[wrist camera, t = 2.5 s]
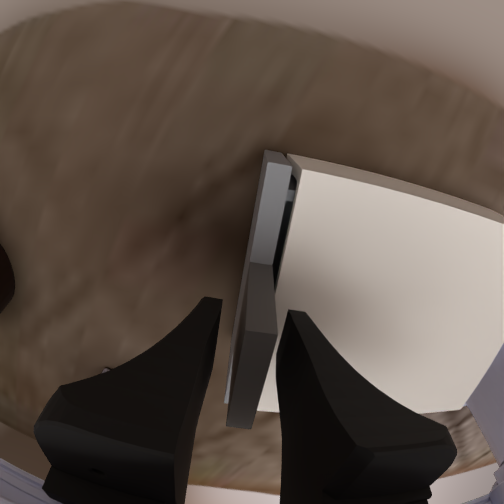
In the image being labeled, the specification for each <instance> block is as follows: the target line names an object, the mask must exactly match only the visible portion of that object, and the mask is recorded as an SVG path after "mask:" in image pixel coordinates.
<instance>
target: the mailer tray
mask: <svg viewBox="0 0 504 504" xmlns="http://www.w3.org/2000/svg"><path fill="white" fill-rule="evenodd" d="M291 171H292V165H291V164H290V163H289V161H288V160H287V159H286V158H285V156H284V155H283V154H282V153H280V152H275V151H269V150H265V151H264V156H263V162H262V168H261V173H260V179H259V184H258V190H257V196H256V201H255V207H254V213H253V218H252V224H251V230H250V235H249V241H248V247H247V252H246V258H245V264H244V270H243V275H242V281H241V287H240V293H239V298H238V304H237V310H236V316H235V322H234V327H233V333H232V339H231V347H230V355H229V364H228V373H227V382H226V390H225V399H224V403H228V412H227V422H226V426H228V427H236V428H244V429H251V428H252V424H253V421H254V418H255V414H256V411H257V408H258V404H259V401H260V397H261V394H262V391H263V387H264V384H265V380H266V377H267V373H268V370H269V366H270V362H271V359H272V355H273V352H274V348H275V344H276V341H277V337H278V327H277V315H276V303H275V291H274V288H275V284H276V279H277V275H278V270H279V266H280V261H281V257H282V252H283V248H284V243H285V239H286V234H287V229H288V225H289V220H290V215H291V211H292V206H293V201H294V196H295V191H296V187H297V180H296V178H295V177H294V175H291Z"/></svg>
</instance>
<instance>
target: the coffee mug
mask: <svg viewBox="0 0 504 504" xmlns="http://www.w3.org/2000/svg"><path fill="white" fill-rule="evenodd" d="M14 289H15V280H14V274H13V270H12V267H11V264H10V261H9V259H8V256H7V255H6V253H5V251H4V249H3V247H2V246H1V244H0V313H1V312H2V311H3V309H4V308H5V307H6V305H7V304H8V303H9V302H10V300H11V299H12V297H13V295H14Z"/></svg>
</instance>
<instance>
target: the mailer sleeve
mask: <svg viewBox="0 0 504 504" xmlns="http://www.w3.org/2000/svg"><path fill="white" fill-rule="evenodd" d="M286 159H287V160H288V161H289V163H290V164H291V165H292V171H291V175H294V177H295V178H296V180H297V187H296V191H295V196H294V201H293V206H292V211H291V215H290V220H289V225H288V229H287V234H286V239H285V243H284V248H283V252H282V257H281V261H280V266H279V270H278V275H277V279H276V284H275V288H274V291H275V303H276V315H277V327H278V337H277V341H276V344H275V348H274V352H273V355H272V359H271V362H270V366H269V370H268V373H267V377H266V380H265V384H264V387H263V391H262V394H261V397H260V401H259V404H258V408H257V410H259V411H269V412H279V404H278V396H277V387H276V352H277V349H278V345H279V342H280V338H281V334H282V331H283V327H284V323H285V320H286V316H287V312H288V309H289V310H297V311H304V312H306V313H307V314H308V316H309V317H310V318H311V319H312V321H313V322H314V323H315V325H316V326H317V327H318V328H319V330H320V331H321V332H322V334H323V335H324V336H325V337H326V339H327V340H328V341H329V342H330V343H331V345H332V346H333V347H334V348H335V349H336V350H337V351H338V353H339V354H340V355H341V356H342V357H343V358H344V359H345V360H346V361H347V362H348V363H349V364H350V365H351V366H352V367H353V368H354V369H355V370H356V371H357V372H358V373H360V374H361V375H362V376H363V377H364V378H365V379H366V380H368V381H369V382H370V383H371V384H373V385H374V386H375V387H376V388H378V389H379V390H381V391H382V392H383V393H385V394H386V395H388V396H389V397H390V398H392V399H393V400H395V401H397V402H398V403H400V404H401V405H403V406H405V407H407V408H409V409H410V410H412V411H414V412H416V413H418V414H419V413H432V412H442V411H451V410H460V409H461V408H462V407H463V405H464V404H465V402H466V401H467V400H468V398H469V397H470V395H471V394H472V393H473V391H474V390H475V388H476V387H477V385H478V384H479V382H480V381H481V379H482V378H483V376H484V375H485V373H486V372H487V370H488V368H489V367H490V365H491V364H492V362H493V360H494V359H495V357H496V355H497V354H498V352H499V350H500V348H501V347H502V345H503V343H504V216H503V215H501V214H499V213H497V212H495V211H493V210H491V209H489V208H486V207H483V206H481V205H478V204H475V203H472V202H469V201H466V200H464V199H461V198H458V197H455V196H452V195H449V194H445V193H442V192H439V191H436V190H433V189H430V188H426V187H423V186H420V185H416V184H413V183H409V182H406V181H403V180H399V179H395V178H392V177H388V176H384V175H381V174H377V173H373V172H369V171H365V170H361V169H357V168H353V167H349V166H345V165H340V164H336V163H332V162H327V161H322V160H318V159H313V158H308V157H303V156H298V155H293V154H288V153H287V158H286Z"/></svg>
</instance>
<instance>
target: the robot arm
mask: <svg viewBox="0 0 504 504" xmlns="http://www.w3.org/2000/svg"><path fill="white" fill-rule="evenodd" d="M222 301H223V299H217V298H211V297H204V298H202V299H201V301H200V302H199V303H198V305H197V306H196V307H195V308H194V309H193V310H192V312H191V313H190V314H189V315H188V316H187V317H186V318H185V319H184V320H183V321H182V322H181V323H180V324H179V325H178V326H177V327H176V328H175V329H173V330H172V331H171V332H170V333H169V334H168V335H166V336H165V337H164V338H163V339H162V340H160V341H159V342H158V343H156V344H155V345H154V346H152V347H151V348H149V349H148V350H146V351H145V352H143V353H142V354H140V355H138V356H137V357H135V358H133V359H132V360H130V361H128V362H126V363H124V364H122V365H120V366H118V367H116V368H114V369H111V370H109V371H107V372H104V373H101V374H99V375H96V376H93V377H90V378H87V379H84V380H80V381H77V382H73V383H69V384H66V385H61V386H60V387H59V388H58V390H57V391H56V392H55V393H54V394H53V396H52V397H51V398H50V400H49V401H48V403H47V404H46V406H45V408H44V409H43V411H42V413H41V414H40V416H39V418H38V420H37V421H36V423H35V425H34V434H35V437H36V439H37V442H38V444H39V445H40V447H41V449H42V451H43V452H44V454H45V456H46V457H47V459H48V460H49V462H50V463H51V465H52V466H51V468H50V471H49V473H48V475H47V477H46V480H45V481H44V480H42V479H40V478H37V477H36V476H33V475H31V474H29V473H27V472H25V471H23V470H22V469H19V468H18V467H16V466H14V465H12V464H10V463H8V462H6V461H5V460H3V459H1V458H0V504H184V503H185V496H186V489H187V483H188V476H189V469H190V463H191V457H192V450H193V444H194V438H195V432H196V427H197V422H198V418H199V415H200V411H201V407H202V404H203V400H204V397H205V393H206V390H207V386H208V383H209V379H210V376H211V372H212V368H213V362H214V356H215V350H216V344H217V337H218V329H219V322H220V315H221V308H222ZM276 387H277V396H278V404H279V413H280V421H281V431H282V469H281V492H280V504H428V501H427V499H429V498H431V496H432V493H431V490H430V487H429V486H430V485H431V484H432V483H433V482H434V481H436V480H437V479H438V478H439V477H440V476H441V475H442V474H443V473H444V472H445V471H446V470H447V469H448V468H449V467H450V466H451V465H452V463H453V461H454V459H455V457H456V455H457V449H456V446H455V444H454V442H453V440H452V438H451V435H450V433H449V431H448V429H447V427H446V426H444V425H442V424H440V423H437V422H435V421H433V420H431V419H428V418H426V417H424V416H422V415H420V414H418V413H416V412H414V411H412V410H410V409H409V408H407V407H405V406H403V405H401V404H400V403H398V402H397V401H395V400H393V399H392V398H390V397H389V396H388V395H386V394H385V393H383V392H382V391H381V390H379V389H378V388H376V387H375V386H374V385H373V384H371V383H370V382H369V381H368V380H366V379H365V378H364V377H363V376H362V375H361V374H360V373H358V372H357V371H356V370H355V369H354V368H353V367H352V366H351V365H350V364H349V363H348V362H347V361H346V360H345V359H344V358H343V357H342V356H341V355H340V354H339V353H338V351H337V350H336V349H335V348H334V347H333V346H332V345H331V343H330V342H329V341H328V340H327V339H326V337H325V336H324V335H323V334H322V332H321V331H320V330H319V328H318V327H317V326H316V325H315V323H314V322H313V321H312V319H311V318H310V317H309V316H308V314H307V313H306V312H304V311H297V310H289V309H288V312H287V316H286V320H285V323H284V327H283V331H282V334H281V338H280V342H279V345H278V349H277V352H276ZM463 406H468V407H469V409H470V411H471V413H472V415H473V417H474V418H475V420H476V422H477V424H478V426H479V428H480V430H481V431H482V433H483V435H484V437H485V439H486V441H487V443H488V445H489V447H490V449H491V451H492V453H493V455H494V457H495V459H496V461H497V463H498V465H499V467H500V468H499V469H498V470H497V471H496V472H494V476H495V478H496V480H497V481H496V482H495V484H494V485H493V487H492V490H491V491H490V493H489V494H487V495H484V496H482V497H479V498H476V499H474V500H471V501H468V502H465V503H462V504H504V343H503V345H502V347H501V348H500V350H499V352H498V354H497V355H496V357H495V359H494V360H493V362H492V364H491V365H490V367H489V368H488V370H487V372H486V373H485V375H484V376H483V378H482V379H481V381H480V382H479V384H478V385H477V387H476V388H475V390H474V391H473V393H472V394H471V395H470V397H469V398H468V400H467V401H466V402H465V404H464V405H463Z"/></svg>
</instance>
